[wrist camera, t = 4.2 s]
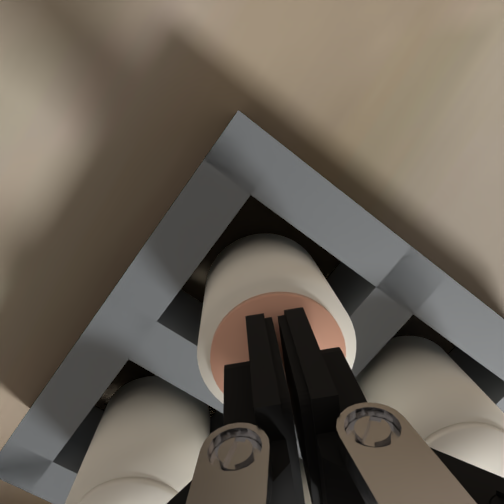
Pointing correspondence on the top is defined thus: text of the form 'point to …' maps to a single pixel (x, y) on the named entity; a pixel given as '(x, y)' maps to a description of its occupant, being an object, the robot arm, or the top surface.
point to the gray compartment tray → (190, 309)
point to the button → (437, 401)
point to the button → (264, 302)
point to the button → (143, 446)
